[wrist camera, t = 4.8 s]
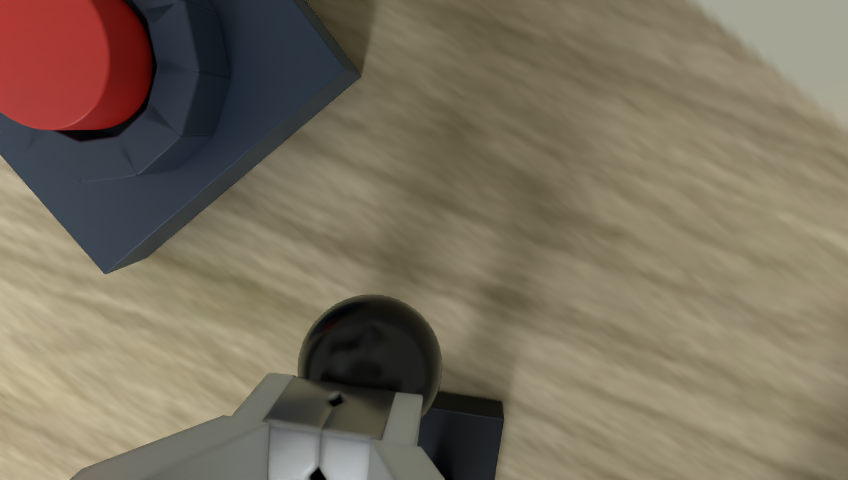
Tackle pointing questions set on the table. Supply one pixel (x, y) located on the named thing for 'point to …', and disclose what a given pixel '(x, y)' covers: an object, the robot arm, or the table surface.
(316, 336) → the switch lever
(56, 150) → the button block
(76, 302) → the table surface
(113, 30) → the button
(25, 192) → the table surface
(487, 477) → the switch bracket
